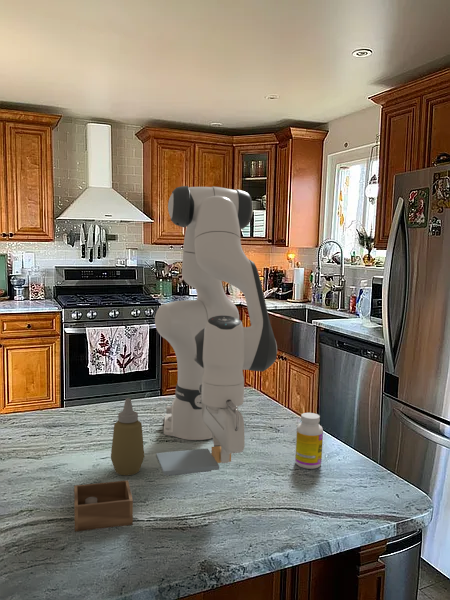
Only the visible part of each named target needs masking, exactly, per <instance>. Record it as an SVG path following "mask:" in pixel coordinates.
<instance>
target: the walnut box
mask: <svg viewBox="0 0 450 600" xmlns="http://www.w3.org/2000/svg"><path fill="white" fill-rule="evenodd" d="M73 487H74V488H73V489H74V491H73V493H74V495H73V496H74V497H73V499H74V501H73V502H74V504H73V506H74V508H73V509H74V511H73V512H74V515H73V516H74V518H73V519H74V532H75V533H77V532H83V531H84V532H85V531H92V530H101V529H107V528H108V529H110V528H117V527H124V526H125V527H126V526H132V525H134V524H133V522H134V500H133V495H132V490H131V487H130V483H129V479H128V480H118V481H117V480H115V481H107V482H97V483H95V482H94V483H86V484H76V485H74V486H73Z"/></svg>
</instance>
